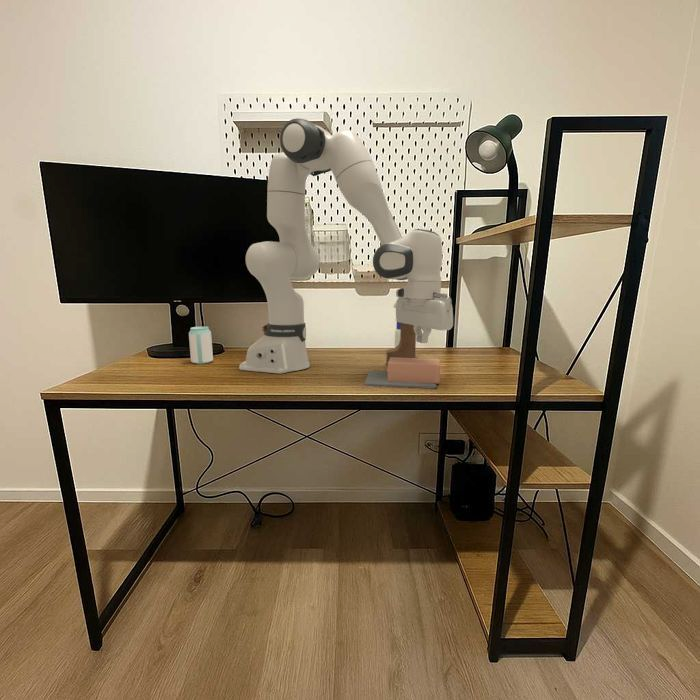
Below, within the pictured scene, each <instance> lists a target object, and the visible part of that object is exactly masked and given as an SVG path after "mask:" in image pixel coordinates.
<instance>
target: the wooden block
mask: <svg viewBox="0 0 700 700" xmlns="http://www.w3.org/2000/svg"><path fill="white" fill-rule="evenodd" d="M416 345H417V341H416V334H415V332H414V325H410V324H405V323H401V334H400V342H399V345H398V346H397V347H396V348H394V347H393V348H390V349H387V350H386V363H387V365H388V362H389V359H390V357H398V358H416V347H417V346H416Z"/></svg>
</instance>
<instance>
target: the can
mask: <svg viewBox="0 0 700 700" xmlns="http://www.w3.org/2000/svg"><path fill="white" fill-rule="evenodd" d="M212 339H213V337H212V331H211V330H210V329H209V326H193V327H190V330H189V332H188V340H189V352H190V353H189V355H190V362H191V363H193V364H194V363H197V364H196V365H206V364H209V363H211V362H212V361H214V355H213V340H212ZM205 363H206V364H205Z"/></svg>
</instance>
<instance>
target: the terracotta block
mask: <svg viewBox="0 0 700 700" xmlns="http://www.w3.org/2000/svg"><path fill="white" fill-rule="evenodd" d="M387 371H388V381H398V382H419V383H436V384H440V379H441V377H440V375H441V362H440V358H424V357H423V358H420V357H415V358H398V357H390V359H389V362H388V364H387Z"/></svg>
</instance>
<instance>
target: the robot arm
mask: <svg viewBox="0 0 700 700" xmlns="http://www.w3.org/2000/svg"><path fill="white" fill-rule="evenodd" d="M279 142H280V148H281V150H282V152H278V153H276V154H275V155H273V156H272V158H271V161H270V165H269V169H268V177H267V189H266V190H267V193H266V194H267V197H266V198H267V199H266V202H267V203H266V204H267V206H266V209H267V210H266V218H267V221H268V223H269V224H270V225H271V226H272V227H273V228H274V229H275V231H276V232H277V234H278V237H279V241H272V240H269V241H268V240H267V241H266V240H265V241H261V242H256V243H255V242H254V243H252V244H251V245H250V246H249V247H248V249H247V251H246V254H245V265H246V268H247V271H249V273H250V274H251V275H252V276H254V277H255V278H256V280H257V281H258V282H259V283H260V285H261V287H262V289H263V291H264V294H265V297H266V301H267V310H268V311H267V312H268V323H266V324H265V325H264V326H261V331H263V336H261V337H260V338H258V340H256V341H255V342H254V343H252V344H251V345H250V346H249V348H248V349H247V351H246V356H245V360H244V361H243V362H241V363H240V364H239V366H238V370H240V371H247V372H248V371H249V372H250V371H251V372H258V373H259V372H261V373H272V374H284V373H289V372H295V371H296V372H297V371H300V370H305V369H308V368H310V366H311V363H310V360H309V357H308V351H307V346H306V340H307V339H306V338H307V327H306V322H305V314H304V313H305V311H304V310H305V307H304V306H305V305H304V304H305V301H304V299H303V297H302V295H301V294H299V293H298V292H297V291H296V290H295V289H294V287H293V285H292V280H291V279H296V280H297V279H305V278H308V277H311V276H314V275H315V274H316V273H317V272H318V270H319V268H320V263H321V262H320V261H321V259H320V255H319V252H318V251H317V249H316V248H315V247H313V245H312V243H311V240H310V239H309V235H308V231H307V228H306V220H305V219H306V216H305V215H306V213H305V212H306V210H305V208H306V205H305V204H306V183H307V178H308V176H312V177H316V176H319V175H321V174H324V173H325V174H326V173H329V172H331V173H332V175H333V177H334V180H335V181H336V184H337V186H338V189H339V191H340V192H341V195H342V196H343V197H344V199H345V200H346V201H347V203H348V204H349V205H350V206H351V207H352V208H353V209H355V210H356V211H358V212H359V213H360V214H361V215H363V216H364V217H365V218H366V219H367V220H368V221H369V223H370V225H371V226H372V228H373V230H374V233H376V237H377V238H378V240H379V242H380V244H381V245H380V246H379V247H378V248H377V249H376V250H375V252H374V254H373V256H372V257H373V258H372V266H373V269H374V271H375V273H376V274H377V275H378V276H380V277H381V278H382V279H387V280H395V281H406V280H407V284H406V285H404V286H402V287H400V288H398V289H397V290H396V291H395V296H396V298H397V299H396V301H395V303H396V308H395V319H397V321H398V322H399V323H405V324H410V325H414V332H415V334H416V343H420V344H427V343H429V336H430V335H431V332H432V330H438V331H450V330H451V329H452V328H453V326H454V312H453V310H454V308H453V304H452V298H451V297H450V296H449V294H448V293H441V290H442V277H441V268H442V265H443V245H442V244H443V243H442V238H441V237H440V234H438V233H437V232H436V231H433V230H429V229H421V228H416V229H412V230H411V231H410V232H408V234H406V235H404V236H402V234H401V232H400V230H399V227H398V226H397V223H396V221H395V220H394V218H393V215H392V213H391V211H390V209H389V206H388V203H387V199H386V196H385V194H384V191H383V187H382V186H383V185H382V184H381V180H380V177H379V175H378V172H377V169H376V166H375V163H374V162H373V159H372V157H371V155H370V153H369V151H368V150H367V147H366V146H365V144H364V143H363V140H362V139H361V138H360V137H359V135H358V133H356V132H355V131H353V130H351V129H342V130H339V131H338V132H336V133H335V134H331V133H330V132H329V131H327V129H325V128H323V127H322V126H320V125H317V124H314V123H313V122H312V121H310V120H308V119H304V118H299V117H298V118H291V119H290V120H288V121H287V122H286V123H285V124H284V126H283V127H282V129H281V131H280V136H279ZM397 321H396V322H397ZM422 331H423V332H422Z"/></svg>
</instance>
